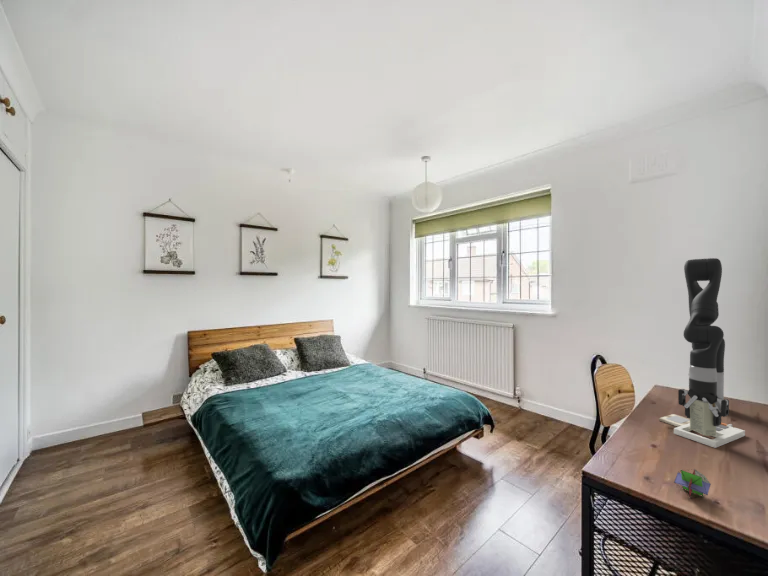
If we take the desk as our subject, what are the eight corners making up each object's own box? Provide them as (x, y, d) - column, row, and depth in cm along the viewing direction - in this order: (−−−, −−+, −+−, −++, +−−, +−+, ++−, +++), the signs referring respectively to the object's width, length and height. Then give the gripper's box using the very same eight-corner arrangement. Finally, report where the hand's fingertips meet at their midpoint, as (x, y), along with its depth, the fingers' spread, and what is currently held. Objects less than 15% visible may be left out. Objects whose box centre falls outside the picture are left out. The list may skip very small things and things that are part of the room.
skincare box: (716, 436, 119) (717, 403, 118) (704, 436, 119) (705, 403, 118) (700, 428, 125) (700, 396, 125) (688, 428, 125) (688, 396, 125)
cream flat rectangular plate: (673, 416, 141) (673, 413, 141) (697, 423, 134) (697, 420, 134) (658, 420, 136) (658, 418, 136) (682, 428, 129) (682, 425, 129)
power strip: (711, 420, 136) (711, 414, 136) (752, 432, 125) (752, 425, 125) (673, 433, 125) (673, 426, 125) (715, 447, 114) (715, 440, 114)
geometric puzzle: (704, 501, 83) (709, 470, 86) (670, 487, 89) (675, 458, 91) (709, 508, 87) (713, 478, 89) (675, 495, 92) (680, 467, 95)
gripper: (734, 382, 116) (733, 427, 117) (684, 372, 130) (684, 413, 130) (723, 385, 113) (723, 431, 114) (673, 374, 127) (673, 416, 127)
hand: (702, 421), depth 122 cm, fingers closed on skincare box, 7 cm apart
